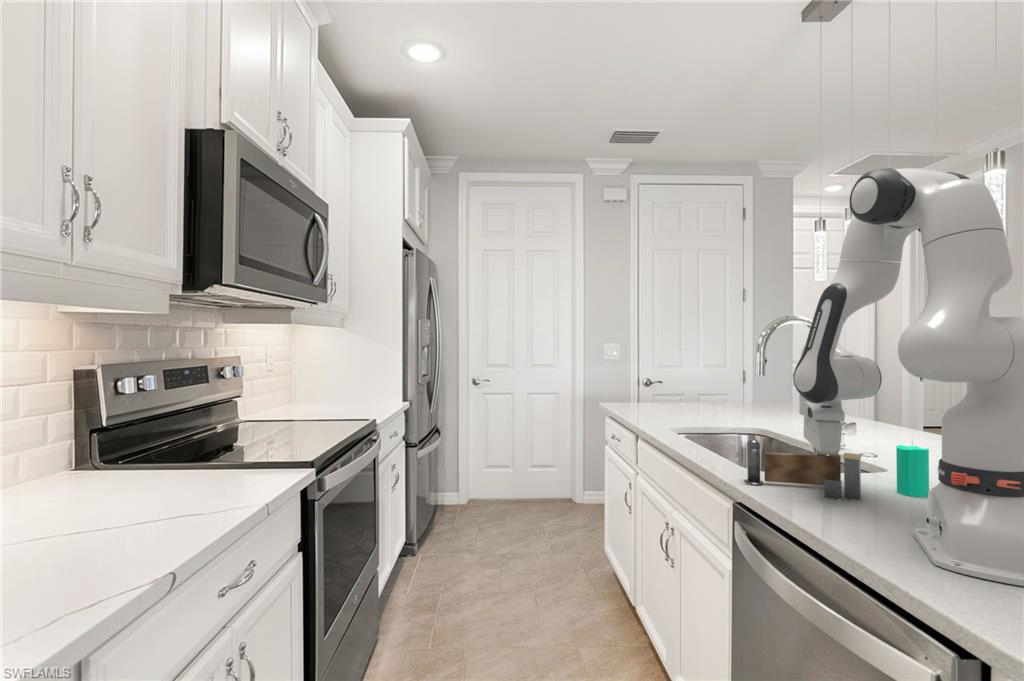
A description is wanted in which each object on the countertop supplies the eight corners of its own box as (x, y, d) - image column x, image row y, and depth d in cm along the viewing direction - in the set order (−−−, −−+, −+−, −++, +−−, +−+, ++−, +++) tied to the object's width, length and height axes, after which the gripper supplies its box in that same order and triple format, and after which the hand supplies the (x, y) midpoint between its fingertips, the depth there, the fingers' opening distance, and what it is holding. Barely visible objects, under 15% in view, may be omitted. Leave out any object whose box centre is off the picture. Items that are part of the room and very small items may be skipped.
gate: (765, 481, 129) (765, 451, 129) (764, 479, 130) (764, 450, 130) (840, 486, 124) (840, 455, 124) (839, 484, 125) (838, 454, 125)
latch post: (859, 502, 114) (859, 458, 114) (824, 497, 118) (824, 454, 118) (861, 497, 118) (861, 454, 118) (827, 492, 122) (827, 450, 122)
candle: (934, 498, 117) (933, 444, 117) (901, 496, 119) (901, 442, 119) (923, 490, 122) (922, 439, 122) (892, 488, 124) (892, 437, 124)
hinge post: (761, 486, 127) (761, 441, 127) (742, 483, 130) (741, 439, 130) (765, 482, 131) (765, 438, 130) (746, 479, 133) (746, 437, 133)
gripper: (797, 401, 139) (796, 454, 139) (814, 413, 119) (814, 475, 119) (824, 402, 137) (824, 456, 137) (847, 415, 117) (846, 477, 117)
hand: (819, 465), depth 128 cm, fingers closed
